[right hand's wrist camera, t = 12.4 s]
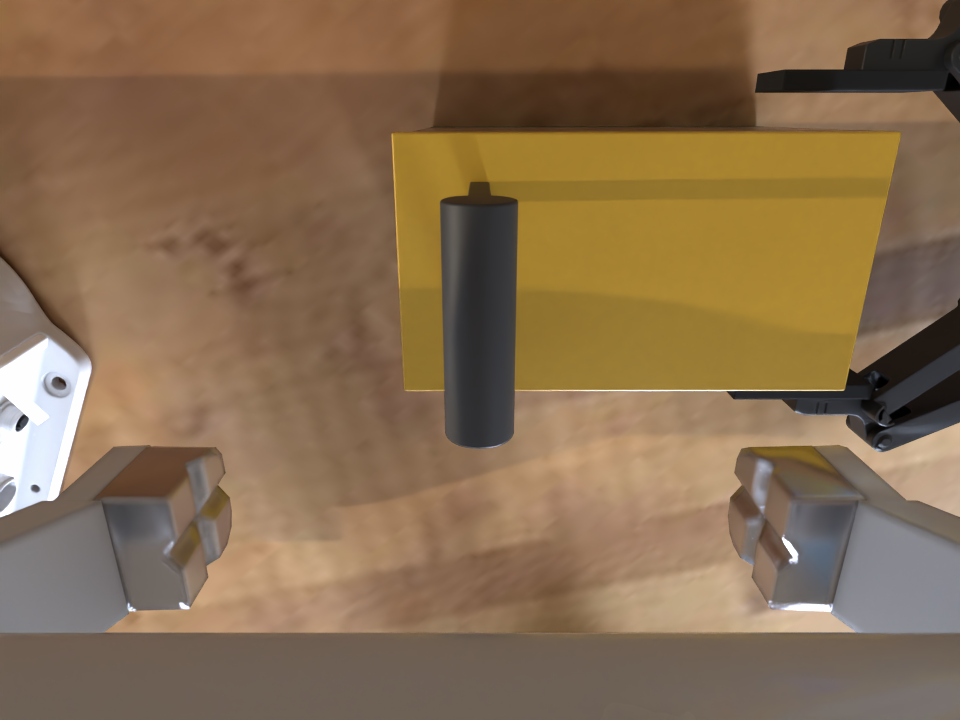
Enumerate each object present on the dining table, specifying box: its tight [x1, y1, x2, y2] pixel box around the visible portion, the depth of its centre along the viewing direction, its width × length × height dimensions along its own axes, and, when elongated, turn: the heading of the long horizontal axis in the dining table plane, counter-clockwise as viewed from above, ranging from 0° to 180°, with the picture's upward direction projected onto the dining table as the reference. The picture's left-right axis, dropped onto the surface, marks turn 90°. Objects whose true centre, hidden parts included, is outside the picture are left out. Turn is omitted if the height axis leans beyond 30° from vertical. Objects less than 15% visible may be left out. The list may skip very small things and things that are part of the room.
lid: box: [392, 131, 901, 449], centre depth 21 cm, size 18×10×9 cm, turn 90°
